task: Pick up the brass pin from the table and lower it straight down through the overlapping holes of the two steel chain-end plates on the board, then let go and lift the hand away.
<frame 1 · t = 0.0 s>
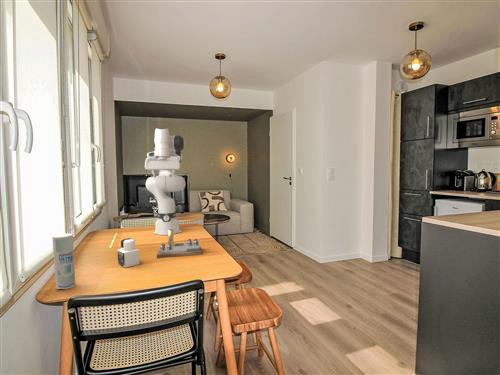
hand: (163, 177, 174), 39 cm above the table, tool pointing down, fingers open, 8 cm apart
chain end right: (186, 245, 154), on the chain base, point 4 cm above the table
spray can: (65, 287, 112), on the table
chain base: (179, 253, 153), on the table
medicine bottle: (128, 264, 137), on the table
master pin: (171, 247, 164), on the table
chain end left: (173, 247, 152), on the chain base, point 3 cm above the table
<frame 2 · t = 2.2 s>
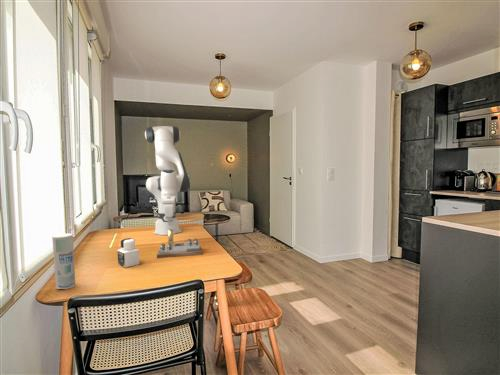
hand: (170, 223, 162), 14 cm above the table, tool pointing down, fingers open, 8 cm apart
nothing on the table moved.
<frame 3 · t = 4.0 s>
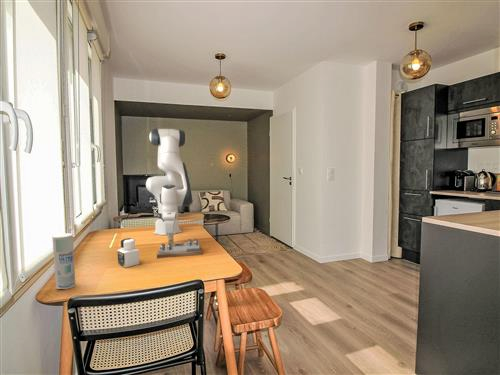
hand: (170, 238, 163), 5 cm above the table, tool pointing down, fingers closed on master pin, 3 cm apart
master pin: (171, 247, 164), on the table, touching gripper
everything else where it was.
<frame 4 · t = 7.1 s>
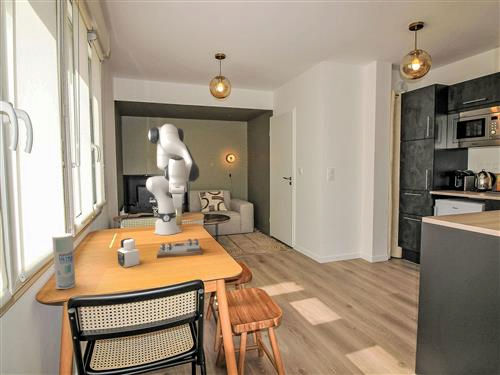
hand: (178, 215, 152), 20 cm above the table, tool pointing down, fingers closed on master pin, 3 cm apart
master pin: (179, 224, 152), point 15 cm above the table, touching gripper
everything else where it was.
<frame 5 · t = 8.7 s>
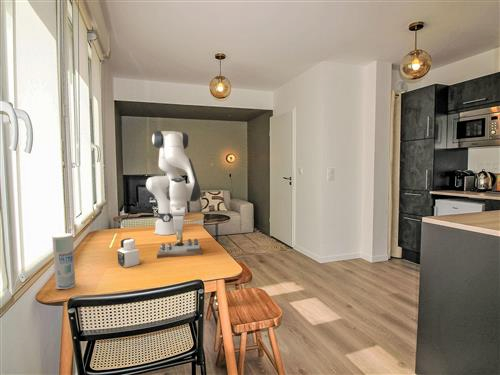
hand: (179, 235, 152), 9 cm above the table, tool pointing down, fingers closed on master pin, 3 cm apart
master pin: (179, 245, 153), point 4 cm above the table, touching gripper
everything else where it was.
when the fingers open (7 cm above the table, at t = 10.0 s): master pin stays where it is, resting on chain base.
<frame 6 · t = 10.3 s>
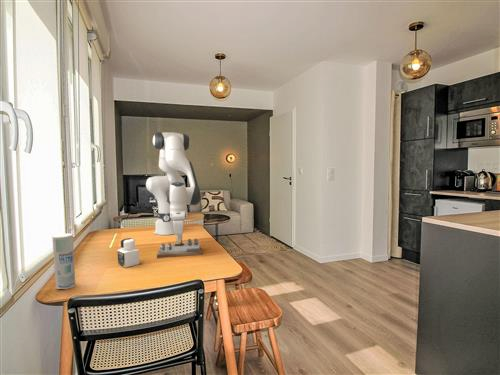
hand: (179, 239, 153), 7 cm above the table, tool pointing down, fingers open, 5 cm apart
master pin: (179, 250, 153), point 2 cm above the table, touching chain base
everything else where it was.
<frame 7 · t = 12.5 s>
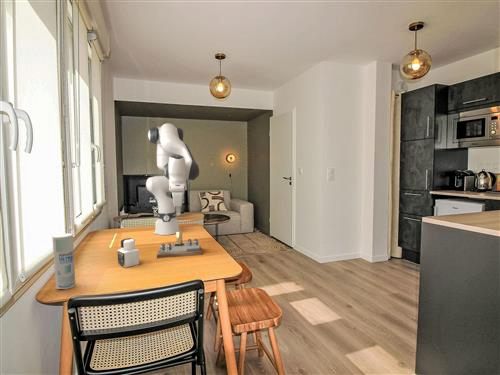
hand: (178, 213, 152), 21 cm above the table, tool pointing down, fingers open, 8 cm apart
nothing on the table moved.
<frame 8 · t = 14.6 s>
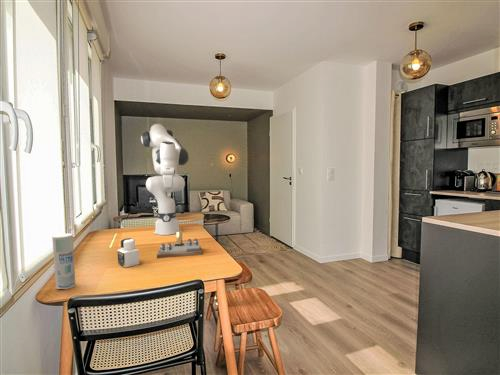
hand: (169, 195, 164), 29 cm above the table, tool pointing down, fingers open, 8 cm apart
nothing on the table moved.
at the end: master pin 0.1 cm off-centre on the chain base, point 1.5 cm above the chain base's base; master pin tilted 0°; the gripper is holding nothing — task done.
